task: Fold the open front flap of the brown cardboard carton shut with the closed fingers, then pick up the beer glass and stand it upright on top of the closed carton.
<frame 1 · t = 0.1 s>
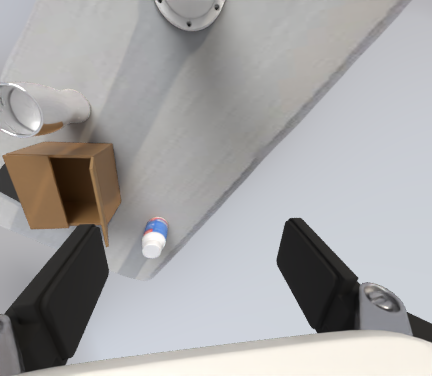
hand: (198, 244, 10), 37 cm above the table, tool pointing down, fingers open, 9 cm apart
carton: (85, 174, 44), on the table
pill bottle: (157, 224, 52), on the table
phone: (37, 193, 45), on the table
flap: (99, 202, 33), point 13 cm above the table, hinge at 110.0°
beer glass: (74, 106, 39), on the table
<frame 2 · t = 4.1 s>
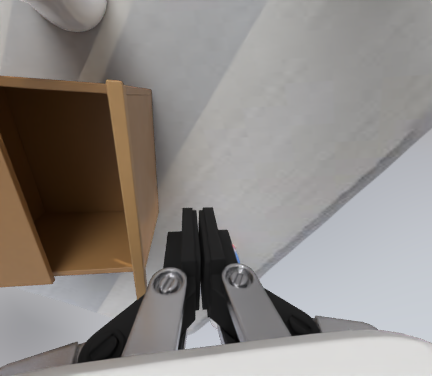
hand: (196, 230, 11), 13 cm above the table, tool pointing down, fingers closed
carton: (93, 157, 21), on the table
flap: (136, 229, 11), point 13 cm above the table, hinge at 103.8°, touching gripper
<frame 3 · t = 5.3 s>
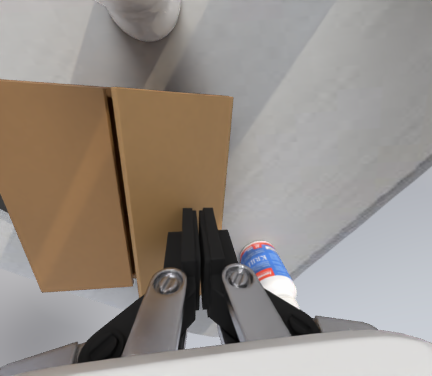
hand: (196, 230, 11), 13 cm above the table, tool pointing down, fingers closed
carton: (149, 161, 22), on the table
pill bottle: (256, 253, 30), on the table
flap: (186, 225, 12), point 12 cm above the table, hinge at 40.2°, touching gripper
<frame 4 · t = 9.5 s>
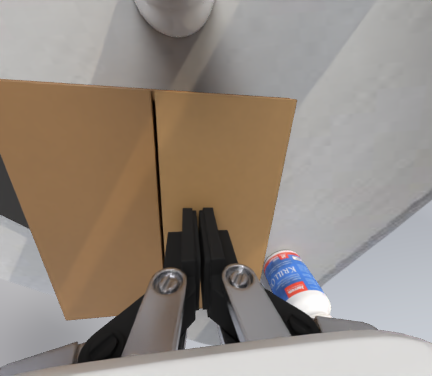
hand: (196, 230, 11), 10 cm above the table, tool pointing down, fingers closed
carton: (172, 168, 20), on the table
pill bottle: (280, 262, 28), on the table
phone: (67, 208, 21), on the table
flap: (219, 225, 12), point 10 cm above the table, hinge at 0.2°, touching gripper
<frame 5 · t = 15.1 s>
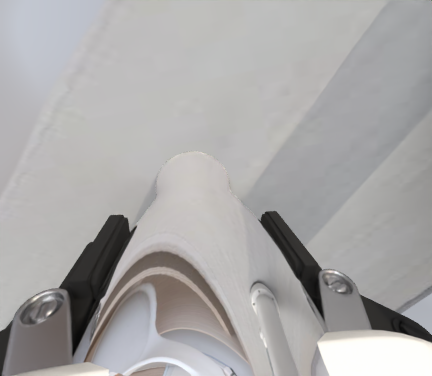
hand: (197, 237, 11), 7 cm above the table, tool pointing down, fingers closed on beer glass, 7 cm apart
beer glass: (193, 185, 17), on the table, touching gripper
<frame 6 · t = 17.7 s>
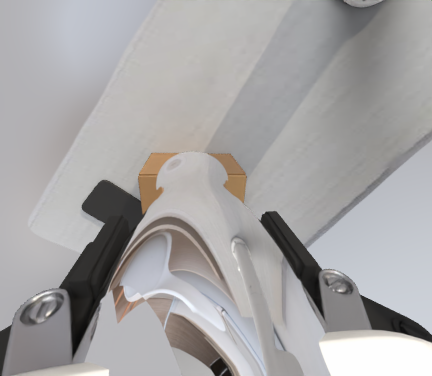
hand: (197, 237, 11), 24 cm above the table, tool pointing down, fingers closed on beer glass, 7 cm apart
carton: (192, 191, 36), on the table
phone: (131, 214, 37), on the table
flap: (218, 223, 27), point 10 cm above the table, hinge at -0.6°
beer glass: (193, 185, 17), point 17 cm above the table, touching gripper
when the fingers open (17 cm above the table, at t = 20.5 s): beer glass stays where it is, resting on carton.
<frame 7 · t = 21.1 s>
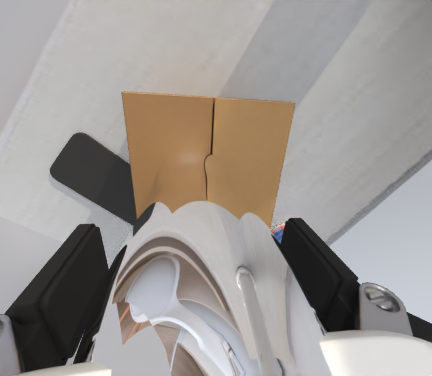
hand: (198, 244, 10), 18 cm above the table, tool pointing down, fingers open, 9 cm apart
carton: (201, 154, 27), on the table
phone: (119, 185, 28), on the table
flap: (245, 183, 18), point 10 cm above the table, hinge at -0.6°
beer glass: (193, 183, 17), point 10 cm above the table, touching carton
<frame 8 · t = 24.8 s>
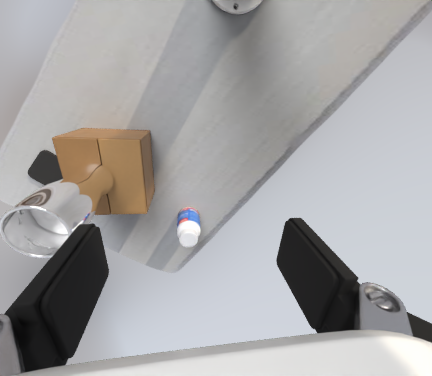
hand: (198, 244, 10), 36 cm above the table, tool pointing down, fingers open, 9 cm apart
carton: (121, 162, 44), on the table
pill bottle: (188, 214, 52), on the table
phone: (72, 181, 44), on the table
flap: (124, 179, 35), point 10 cm above the table, hinge at -0.6°
beer glass: (95, 179, 34), point 10 cm above the table, touching carton
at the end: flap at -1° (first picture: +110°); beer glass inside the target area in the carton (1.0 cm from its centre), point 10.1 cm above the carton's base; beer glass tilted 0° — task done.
